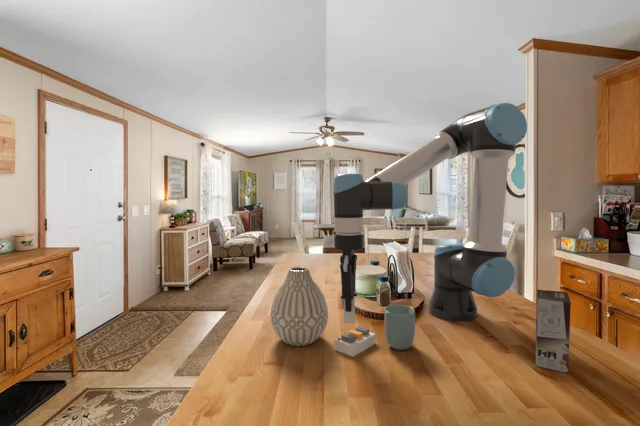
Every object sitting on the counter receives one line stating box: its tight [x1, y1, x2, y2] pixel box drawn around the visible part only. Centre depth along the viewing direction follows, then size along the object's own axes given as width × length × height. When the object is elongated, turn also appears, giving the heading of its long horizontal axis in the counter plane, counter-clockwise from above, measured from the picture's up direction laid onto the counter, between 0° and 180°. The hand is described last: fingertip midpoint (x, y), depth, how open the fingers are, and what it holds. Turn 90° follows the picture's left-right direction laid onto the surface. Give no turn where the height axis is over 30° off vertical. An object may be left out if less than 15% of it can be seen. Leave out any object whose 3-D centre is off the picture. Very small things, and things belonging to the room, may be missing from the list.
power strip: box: [334, 325, 377, 357], centre depth 92 cm, size 10×6×4 cm, turn 137°
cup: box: [384, 304, 416, 351], centre depth 91 cm, size 8×8×10 cm
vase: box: [269, 266, 329, 347], centre depth 96 cm, size 16×16×20 cm
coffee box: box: [535, 289, 572, 373], centre depth 82 cm, size 9×6×16 cm
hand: (349, 321), depth 92 cm, fingers closed
